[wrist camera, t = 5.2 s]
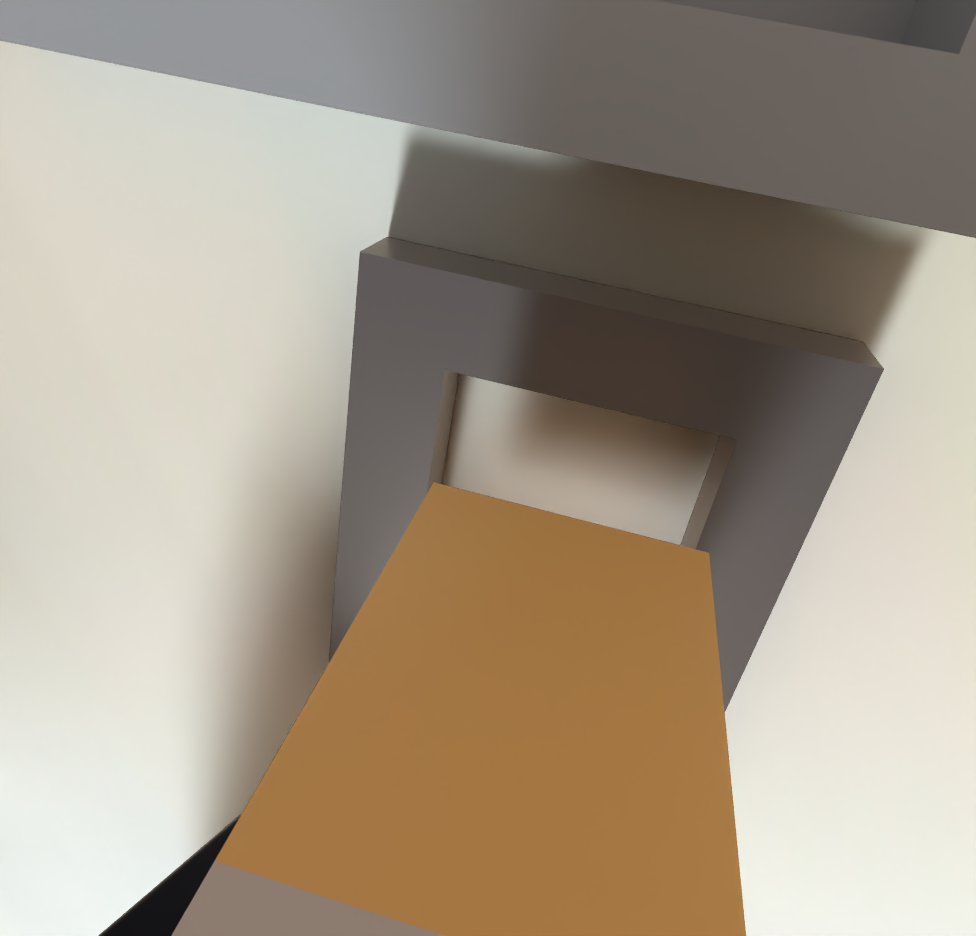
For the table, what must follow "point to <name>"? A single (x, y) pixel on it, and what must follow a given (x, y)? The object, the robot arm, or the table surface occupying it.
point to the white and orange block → (501, 748)
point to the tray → (603, 81)
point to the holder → (600, 382)
